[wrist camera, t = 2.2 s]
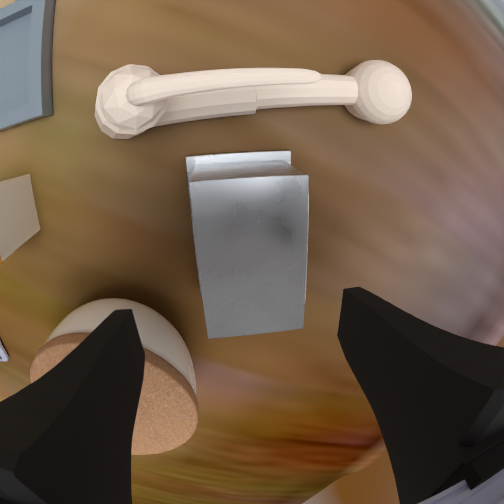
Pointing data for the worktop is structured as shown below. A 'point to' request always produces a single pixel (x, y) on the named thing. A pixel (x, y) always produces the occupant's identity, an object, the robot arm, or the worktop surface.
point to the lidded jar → (155, 371)
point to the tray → (26, 61)
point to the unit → (250, 240)
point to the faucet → (244, 94)
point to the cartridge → (16, 214)
